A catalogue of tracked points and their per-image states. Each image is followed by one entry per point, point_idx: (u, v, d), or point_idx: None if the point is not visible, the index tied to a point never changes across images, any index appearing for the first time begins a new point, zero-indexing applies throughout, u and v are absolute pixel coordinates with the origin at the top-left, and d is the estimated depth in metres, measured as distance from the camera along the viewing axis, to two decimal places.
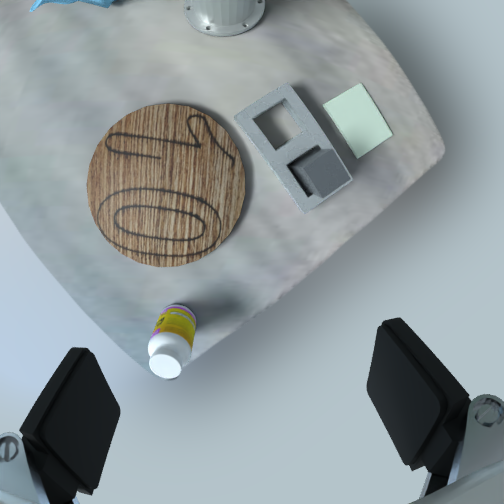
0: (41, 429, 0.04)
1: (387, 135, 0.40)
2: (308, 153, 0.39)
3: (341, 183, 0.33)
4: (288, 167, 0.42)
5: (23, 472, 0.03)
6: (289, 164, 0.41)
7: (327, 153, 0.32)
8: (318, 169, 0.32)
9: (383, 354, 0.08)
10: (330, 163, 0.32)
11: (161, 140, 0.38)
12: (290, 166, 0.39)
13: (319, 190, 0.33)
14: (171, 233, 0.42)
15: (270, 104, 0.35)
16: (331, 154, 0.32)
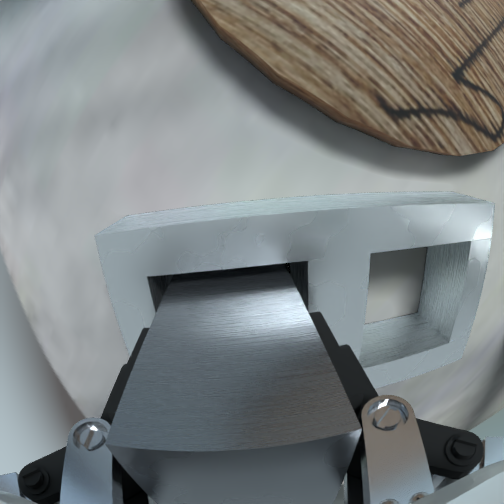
0: None
1: None
2: None
3: None
4: None
5: (103, 467, 0.04)
6: None
7: (328, 500, 0.05)
8: (292, 479, 0.04)
9: None
10: None
11: (487, 38, 0.08)
12: (284, 267, 0.11)
13: (163, 455, 0.04)
14: None
15: (462, 304, 0.11)
16: None
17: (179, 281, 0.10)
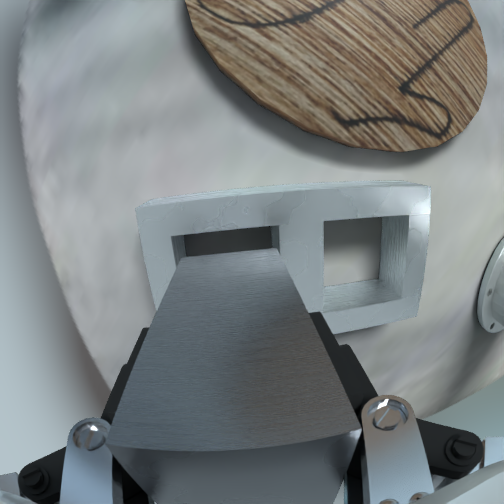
0: None
1: None
2: None
3: None
4: (269, 249, 0.13)
5: (103, 467, 0.04)
6: None
7: (328, 500, 0.05)
8: (292, 479, 0.04)
9: None
10: None
11: (438, 53, 0.14)
12: (284, 267, 0.11)
13: (163, 455, 0.04)
14: None
15: (408, 266, 0.16)
16: None
17: (179, 281, 0.10)
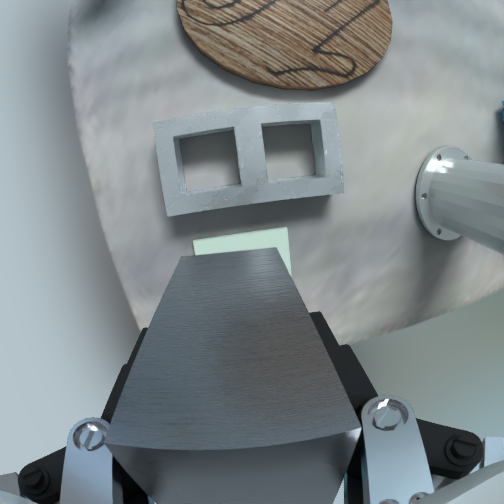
0: None
1: None
2: None
3: None
4: (269, 248, 0.13)
5: (103, 467, 0.04)
6: None
7: (328, 500, 0.05)
8: (291, 478, 0.04)
9: None
10: None
11: (344, 24, 0.23)
12: (284, 266, 0.11)
13: (162, 454, 0.04)
14: None
15: (326, 153, 0.25)
16: None
17: (179, 280, 0.10)
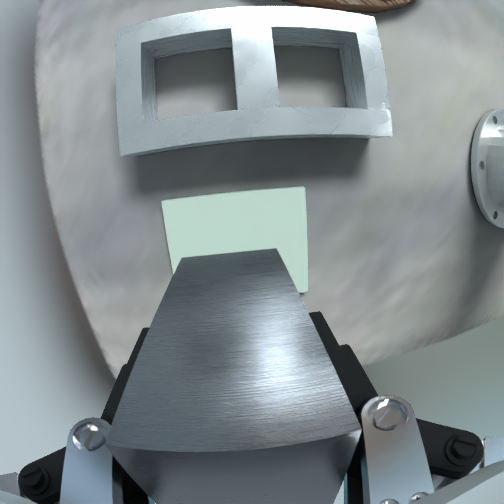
0: None
1: None
2: None
3: None
4: (269, 249, 0.13)
5: (103, 467, 0.04)
6: None
7: (328, 501, 0.05)
8: (292, 479, 0.04)
9: None
10: None
11: None
12: (284, 267, 0.11)
13: (164, 455, 0.04)
14: None
15: (366, 75, 0.14)
16: None
17: (179, 281, 0.10)
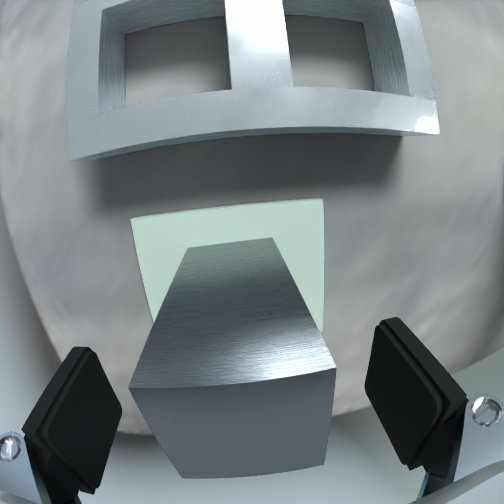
0: (43, 428, 0.04)
1: None
2: None
3: (176, 458, 0.06)
4: (266, 238, 0.15)
5: (25, 472, 0.03)
6: None
7: (320, 453, 0.06)
8: (284, 420, 0.06)
9: (381, 353, 0.08)
10: (277, 455, 0.06)
11: None
12: (278, 252, 0.12)
13: (177, 393, 0.05)
14: None
15: (406, 53, 0.09)
16: (306, 461, 0.07)
17: (186, 266, 0.12)
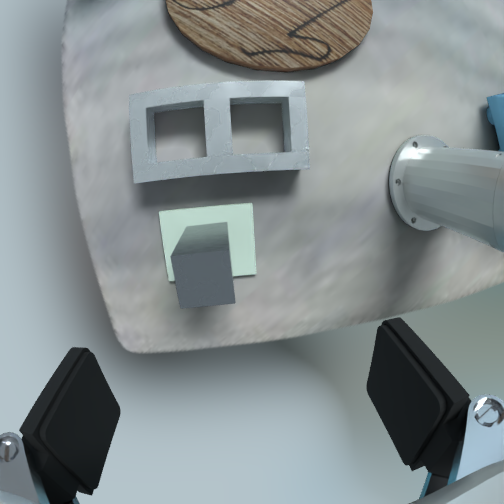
0: (41, 429, 0.04)
1: (171, 273, 0.32)
2: None
3: (180, 292, 0.22)
4: (224, 222, 0.30)
5: (23, 472, 0.03)
6: (227, 225, 0.30)
7: (232, 293, 0.22)
8: (216, 270, 0.21)
9: (383, 354, 0.08)
10: (215, 291, 0.22)
11: (323, 12, 0.23)
12: (227, 226, 0.28)
13: (184, 257, 0.21)
14: None
15: (292, 128, 0.25)
16: (227, 298, 0.22)
17: (186, 232, 0.28)
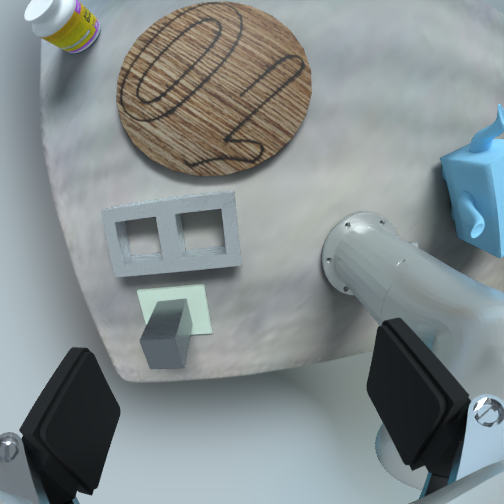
0: (41, 429, 0.04)
1: None
2: (189, 326, 0.39)
3: (148, 360, 0.31)
4: (184, 299, 0.40)
5: (23, 472, 0.03)
6: (186, 302, 0.40)
7: (181, 362, 0.32)
8: (168, 349, 0.31)
9: (383, 354, 0.08)
10: (170, 360, 0.31)
11: (258, 107, 0.32)
12: (183, 306, 0.38)
13: (148, 341, 0.30)
14: (158, 65, 0.29)
15: (226, 235, 0.35)
16: (178, 365, 0.32)
17: (155, 310, 0.37)
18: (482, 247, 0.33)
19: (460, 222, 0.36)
